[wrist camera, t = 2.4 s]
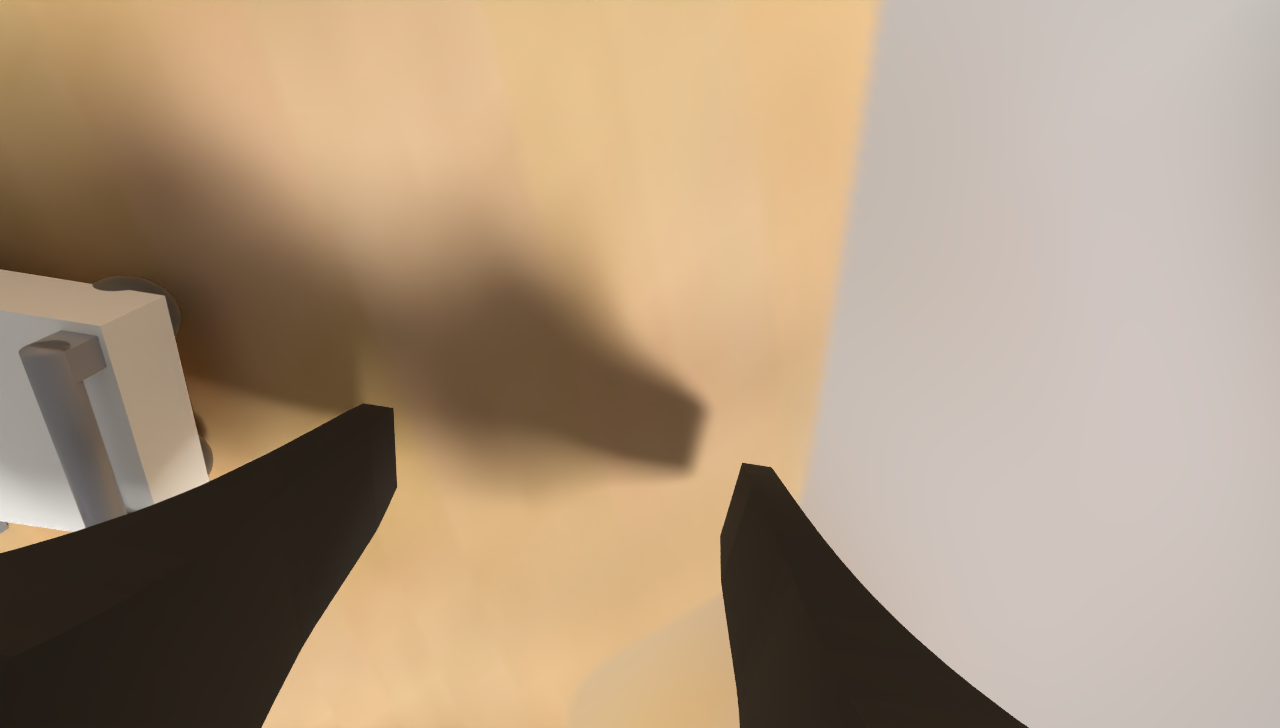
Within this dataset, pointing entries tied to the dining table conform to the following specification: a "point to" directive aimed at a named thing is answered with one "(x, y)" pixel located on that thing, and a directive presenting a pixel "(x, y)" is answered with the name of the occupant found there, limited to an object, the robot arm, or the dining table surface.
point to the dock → (3, 526)
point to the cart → (92, 401)
